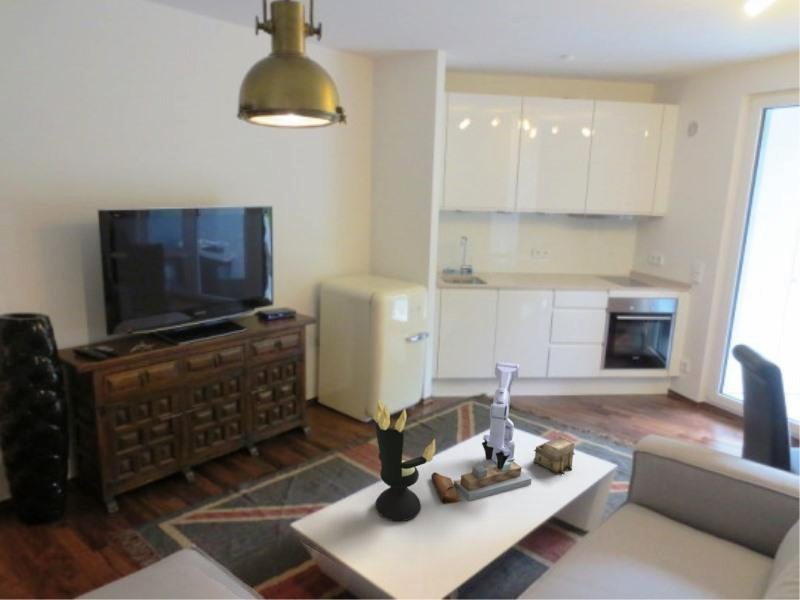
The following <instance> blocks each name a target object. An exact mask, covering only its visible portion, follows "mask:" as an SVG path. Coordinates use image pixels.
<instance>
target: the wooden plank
mask: <svg viewBox="0 0 800 600" xmlns="http://www.w3.org/2000/svg"><path fill="white" fill-rule="evenodd" d="M508 462H509V463H511V468H510V470H506V471H501V470H500V469H498V467H496V465H492V466H489V467H484V468H485V469H486V470H487V476H486V477H482V478H478V477H476V476H475V475H474V474H473V473H472V471H471V472H468V473H467V472H466V473H463V474H461V475H460V479H461V485H462V486H463V487H464V488H465V489H466V490H468V491H472V490H475V489H479V488H482V487H485V486H489V485H492V484H496V483H499V482H502V481H506V480H509V479H512V478H516V477H519V476H521V471H522V466H520V465H519V464H518V463H516V462H515V461H514V460H511V461H508Z"/></svg>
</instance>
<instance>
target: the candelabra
mask: <svg viewBox="0 0 800 600" xmlns="http://www.w3.org/2000/svg"><path fill="white" fill-rule="evenodd" d="M374 409H375V410H374V412H373V420H374V422H375V432H376V438H377V445H378V451H379V453H378V460H379V461H380V463H381V464H380V465H381V470H380V474H379V475H380V479H381V481H382V482H383V483H384V484H386V485H387V486H389V487H388V488H387V489H384V490H383V491H382V492H381V493H380V494H379V495H378V497H377V498H376V500H375V507H374V508H375V510H376V511H377V512H378V514H379V515H381V516H382V517H383V518H386V519H387V520H391V521H394V522H395V521H396V522H397V521H398V522H399V521H400V522H402V521H408V520H409V521H410V520H411V519H413V518H415V517H416V516H417V515H418V514H419V513H420V511H421V509H422V505H421V500H420V499H419V497H418V496H417V494H416V493H415V492H413V491H412V490H411V489H410V488H408V487H412V486H413V485H415V483H417V481H418V479H419V474H420V473H419V470H418V469H417V467H418V466H422V465H424V464H426V463H431V462H432V460H434V459H433V457H434V455H435V452H436V438H434V439H432V442H431V443H430V444H429V445H428V446H426V447H425V449H424V452H423V453H422V456H417V457H415V458H412V459H408V460H404V459H403V452H404V451H403V450H404V441H405V434H404V431H403V430H404V428H405V425H406V422H407V416H408V415H407V411H406V408H404V409H403V411H402V412H401V414H400V415H399V418H398V419H397V420H396V422H395V425H394V428H389V427H390V424H391V420H390V418H391V413H390V411H389V409H388V407H387V405H386V404H383V403H382V401H381V400H380V398H378V400H377V405H376V407H375V408H374Z"/></svg>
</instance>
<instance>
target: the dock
mask: <svg viewBox="0 0 800 600" xmlns="http://www.w3.org/2000/svg"><path fill="white" fill-rule="evenodd" d="M453 484H454V486H455V488H456V490H457V492H458V493H460V494H461V495H462V496H464V497H465V499H467V500H468V501H469V502H470V501H473V500H476V499H481V498H484V497H488V495H489V496H492V495H496V494H500V493H503V492H506V491H510V490H514V489H518V488H521V487H525V486H529V484H530V485H531V484H532V477H531V476H529V475H528V474H527V473H525V472H524V471H523V470H521V476H519V477H516V478H512V479H509V480H506V481H502V482H499V483H496V484H492V485H489V486H485V487H482V488H479V489H475V490H472V491H468V490H466V489H465V488H464V487H463V486H462V485H461V478H459V479H454V480H453ZM499 492H500V493H499Z"/></svg>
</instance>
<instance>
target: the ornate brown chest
mask: <svg viewBox="0 0 800 600" xmlns="http://www.w3.org/2000/svg"><path fill="white" fill-rule="evenodd" d="M574 449H575V442H574V441H572V440H570V439H567V438H565V437H563V436H560V435H559V436H558V437H556V438H555V439H550V440H547V441H545V442H543V443H542V444H539V445H536V446H535V449H534V450H533V452H535V454H534V458H533V464H534V465H536V464H537V465H536V466H539V467H541V468H542V469H545V470H546V471H548V472H550V473H552V474H554V475H558V474H560V475H562V474H563V475H564V474H565V472H564V470H565V471H567V470H568V469H569V471H573V468H572V467H573V459H574V456H575V452H574ZM534 460H535V461H534ZM566 469H567V470H566Z"/></svg>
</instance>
